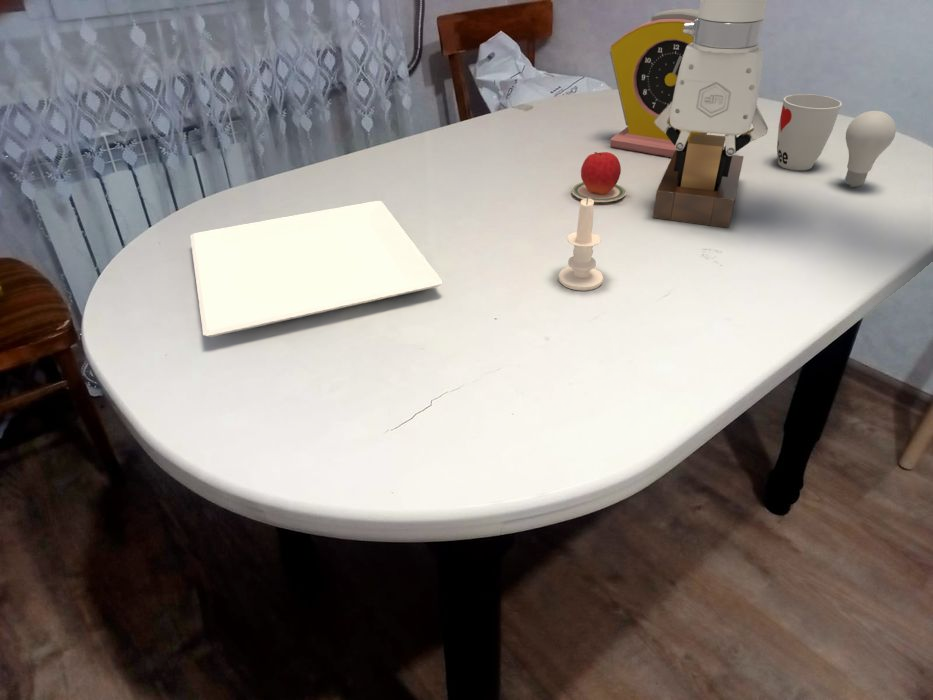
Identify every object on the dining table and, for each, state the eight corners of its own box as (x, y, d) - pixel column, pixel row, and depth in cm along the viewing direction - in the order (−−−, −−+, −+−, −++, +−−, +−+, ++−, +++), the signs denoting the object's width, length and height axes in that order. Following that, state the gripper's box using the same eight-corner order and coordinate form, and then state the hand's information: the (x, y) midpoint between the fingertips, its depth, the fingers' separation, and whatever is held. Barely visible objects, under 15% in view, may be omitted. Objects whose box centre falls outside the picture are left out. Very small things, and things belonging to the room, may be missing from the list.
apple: (563, 199, 97) (566, 156, 93) (581, 180, 103) (585, 139, 99) (616, 208, 94) (621, 164, 90) (632, 189, 100) (637, 146, 96)
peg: (714, 192, 93) (725, 136, 89) (711, 204, 90) (722, 146, 85) (682, 188, 95) (692, 132, 90) (677, 200, 91) (687, 142, 87)
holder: (738, 181, 101) (743, 155, 99) (728, 228, 88) (734, 200, 86) (671, 173, 104) (675, 149, 102) (652, 217, 91) (656, 190, 89)
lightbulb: (855, 197, 95) (881, 120, 89) (821, 183, 100) (843, 109, 93) (885, 190, 97) (912, 113, 91) (850, 176, 102) (874, 103, 95)
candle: (593, 294, 75) (602, 209, 69) (551, 284, 77) (556, 201, 71) (609, 274, 79) (618, 192, 73) (568, 265, 81) (574, 184, 75)
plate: (193, 246, 88) (189, 232, 86) (382, 212, 95) (380, 198, 94) (208, 351, 68) (202, 334, 67) (444, 297, 75) (444, 281, 74)
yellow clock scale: (594, 145, 116) (606, 9, 104) (615, 130, 123) (629, 1, 110) (720, 167, 106) (750, 20, 94) (736, 150, 112) (766, 10, 100)
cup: (770, 153, 111) (786, 92, 105) (823, 160, 108) (842, 96, 102) (765, 169, 105) (781, 105, 99) (821, 177, 102) (841, 110, 96)
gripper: (651, 36, 80) (633, 181, 91) (802, 44, 75) (763, 196, 85) (661, 25, 86) (643, 162, 96) (802, 32, 80) (766, 176, 91)
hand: (699, 177), depth 91 cm, fingers closed on peg, 4 cm apart
